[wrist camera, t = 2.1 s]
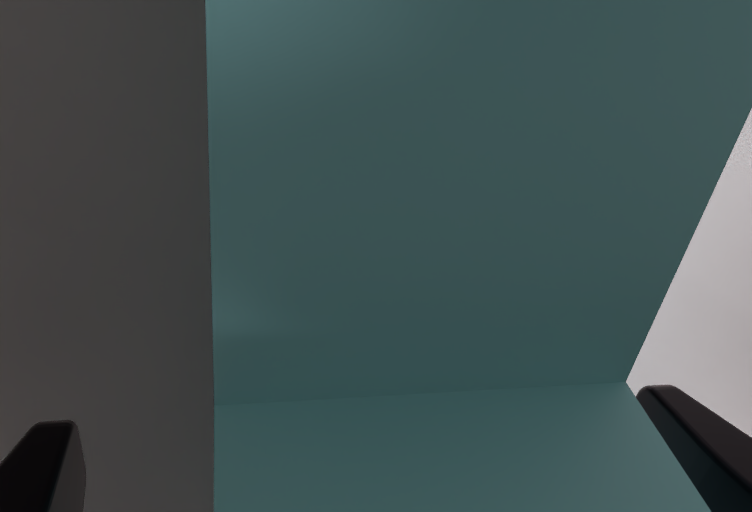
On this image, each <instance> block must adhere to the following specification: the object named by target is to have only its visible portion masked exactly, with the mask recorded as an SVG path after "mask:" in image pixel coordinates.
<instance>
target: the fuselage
mask: <svg viewBox="0 0 752 512" xmlns="http://www.w3.org/2000/svg"><path fill="white" fill-rule="evenodd" d="M205 11H206V57H207V102H208V147H209V193H210V238H211V283H212V329H213V374H214V512H711V510H710V509H709V507H708V506H707V504H706V503H705V501H704V500H703V498H702V497H701V495H700V494H699V492H698V491H697V489H696V488H695V486H694V485H693V483H692V482H691V480H690V479H689V477H688V476H687V474H686V473H685V471H684V470H683V468H682V467H681V465H680V463H679V462H678V460H677V459H676V457H675V456H674V454H673V453H672V451H671V450H670V448H669V447H668V445H667V444H666V442H665V441H664V439H663V438H662V436H661V435H660V433H659V432H658V430H657V429H656V427H655V426H654V424H653V423H652V421H651V420H650V418H649V417H648V415H647V414H646V412H645V411H644V409H643V408H642V406H641V404H640V403H639V401H638V400H637V398H636V397H635V395H634V394H633V392H632V391H631V389H630V388H629V386H628V385H627V383H626V380H627V378H628V375H629V373H630V371H631V369H632V367H633V365H634V362H635V360H636V358H637V356H638V354H639V352H640V349H641V347H642V345H643V343H644V341H645V338H646V336H647V334H648V332H649V330H650V328H651V325H652V323H653V321H654V319H655V317H656V315H657V312H658V310H659V308H660V306H661V304H662V302H663V299H664V297H665V295H666V293H667V291H668V288H669V286H670V284H671V282H672V280H673V278H674V275H675V273H676V271H677V269H678V267H679V265H680V262H681V260H682V258H683V256H684V254H685V252H686V249H687V247H688V245H689V243H690V241H691V238H692V236H693V234H694V232H695V230H696V228H697V225H698V223H699V221H700V219H701V217H702V215H703V212H704V210H705V208H706V206H707V204H708V202H709V199H710V197H711V195H712V193H713V191H714V188H715V186H716V184H717V182H718V180H719V178H720V175H721V173H722V171H723V169H724V167H725V165H726V162H727V160H728V158H729V156H730V154H731V152H732V149H733V147H734V145H735V143H736V141H737V138H738V136H739V134H740V132H741V130H742V128H743V125H744V123H745V121H746V119H747V117H748V115H749V112H750V110H751V108H752V0H205Z"/></svg>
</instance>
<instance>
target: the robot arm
mask: <svg viewBox="0 0 752 512" xmlns="http://www.w3.org/2000/svg"><path fill="white" fill-rule="evenodd" d="M636 398H637V400H638V401H639V403H640V404H641V406H642V408H643V409H644V411H645V412H646V414H647V415H648V417H649V418H650V420H651V421H652V423H653V424H654V426H655V427H656V429H657V430H658V432H659V433H660V435H661V436H662V438H663V439H664V441H665V442H666V444H667V445H668V447H669V448H670V450H671V451H672V453H673V454H674V456H675V457H676V459H677V460H678V462H679V463H680V465H681V467H682V468H683V470H684V471H685V473H686V474H687V476H688V477H689V479H690V480H691V482H692V483H693V485H694V486H695V488H696V489H697V491H698V492H699V494H700V495H701V497H702V498H703V500H704V501H705V503H706V504H707V506H708V507H709V509H710V510H711V512H752V438H751V437H750V436H748V435H747V434H745V433H744V432H742V431H741V430H739V429H738V428H736V427H735V426H733V425H732V424H730V423H729V422H727V421H726V420H724V419H723V418H721V417H720V416H718V415H717V414H715V413H714V412H712V411H711V410H710V409H708V408H707V407H705V406H704V405H702V404H701V403H699V402H698V401H696V400H695V399H693V398H692V397H690V396H689V395H687V394H686V393H684V392H683V391H681V390H680V389H678V388H677V387H675V386H672V385H653V386H645V387H643V388H642V389H641V390H639V392H638V394H637V396H636ZM85 485H86V468H85V461H84V456H83V451H82V446H81V440H80V435H79V430H78V426H77V425H76V423H75V422H74V421H71V420H61V421H44V422H39V423H37V424H35V425H34V426H32V428H31V429H30V430H29V431H28V432H27V433H26V434H25V436H24V437H23V438H22V439H21V440H20V441H19V443H18V444H17V445H16V446H15V447H14V449H13V450H12V451H11V452H10V453H9V454H8V456H7V457H6V458H5V459H4V460H3V461H2V463H1V464H0V512H83V505H84V495H85Z"/></svg>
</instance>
